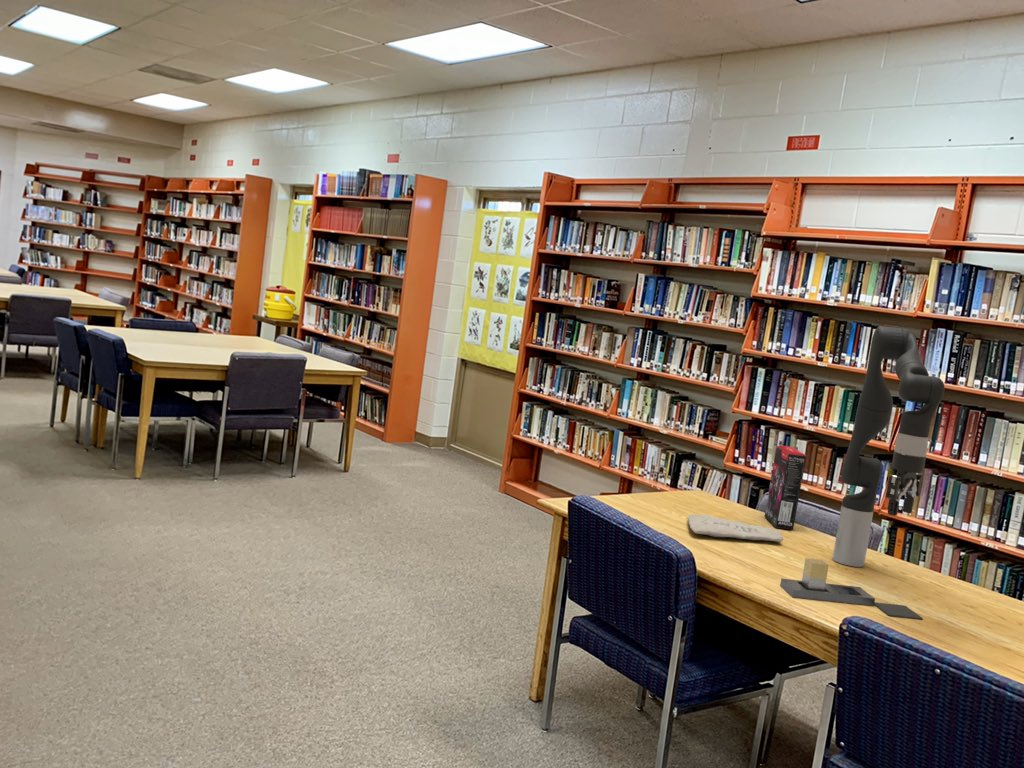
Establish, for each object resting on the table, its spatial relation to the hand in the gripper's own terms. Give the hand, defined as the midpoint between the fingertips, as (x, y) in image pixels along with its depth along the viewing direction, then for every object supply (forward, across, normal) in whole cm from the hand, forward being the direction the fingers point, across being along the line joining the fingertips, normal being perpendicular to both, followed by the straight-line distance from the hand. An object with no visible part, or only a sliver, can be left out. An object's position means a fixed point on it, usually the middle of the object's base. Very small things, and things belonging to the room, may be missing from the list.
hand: (899, 513), depth 222 cm
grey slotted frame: (+25, +7, -12) cm, 29 cm away
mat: (+25, -1, +3) cm, 26 cm away
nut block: (+25, +10, -15) cm, 31 cm away
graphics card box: (+26, -54, -64) cm, 87 cm away
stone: (+26, -20, -60) cm, 69 cm away
